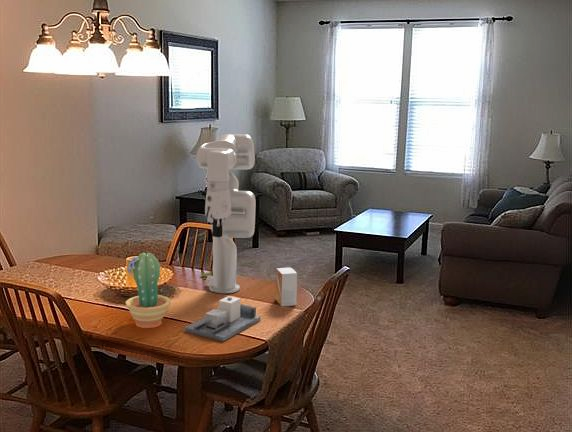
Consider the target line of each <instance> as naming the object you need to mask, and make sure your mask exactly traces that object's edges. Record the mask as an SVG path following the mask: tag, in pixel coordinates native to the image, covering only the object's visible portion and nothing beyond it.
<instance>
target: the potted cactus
mask: <svg viewBox="0 0 572 432" xmlns="http://www.w3.org/2000/svg"><path fill="white" fill-rule="evenodd" d="M127 272H128V274H129V276H131V275H132V277H133V280H134V282H135V284H136V289H137V295H136V296H132V297H130V298H128V299H127V300H126V301H125V305H126V308H127V310H129V312H130V314H131V316H132V318H133V320H134V321H135V325H136V327H138V328H141V329H142V328H143V329H149V328H150V329H151V328H153V329H154V328H156V327H160V326H161V325H162V323H163V322H162V319H163V318H164V317H165V315H166V313H167V311H168V308H170V306H171V302H172V301H171V299H170V298H169V297H168V296H164V295H161V294H158V284H159V280H160V277H161V276H160V275H161V263H160V262H159V260H158V259H157V257H156V256H155V255H154V254H153V253H151V252H147V253H145V252H142V253H139V255H138V256H134V257H132V258H131V259H130V262H129V264H128V266H127Z"/></svg>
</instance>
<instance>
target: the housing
mask: <svg viewBox="0 0 572 432" xmlns="http://www.w3.org/2000/svg"><path fill="white" fill-rule="evenodd" d="M240 304H241V298H239V297H235V296H231V295H227V296H226V297H224V298H222V299H219V300H218V310H222V311H226V312H227V314H228V315H227V322H232V321H234V320H236V319H238V318H240Z"/></svg>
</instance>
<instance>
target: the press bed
mask: <svg viewBox="0 0 572 432" xmlns="http://www.w3.org/2000/svg"><path fill="white" fill-rule="evenodd" d="M260 321H261V316H259V315H257V307H256V306H251V305H247V304H242V303H240V318H238V319H236V320H234V321H232V322H227V323H226V324H224V325H222V326H220V327H218V328H217V329H216V328H212V327H208V326H205V316H204V317H203V318H201V319H198V320H196V321H194V322H192V323H190V324H188V325H186V326H184V332H186V333H189V334H193V335H195V336H196V335H197V336H201V337H205V338H208V339H212V340H215V341H220V342H225V341H227V340H229V339H231V338H232V337H234V336H236V335H238V334H240V333H241V332H244V331H245V330H246V329H248V328H250V327H252V326H253V325H255V324H257V323H258V322H260Z"/></svg>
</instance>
